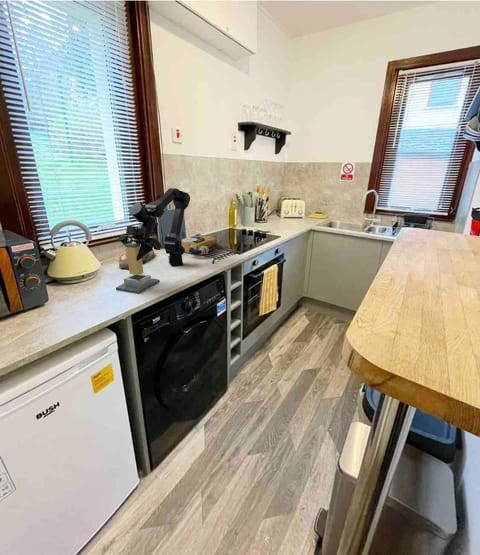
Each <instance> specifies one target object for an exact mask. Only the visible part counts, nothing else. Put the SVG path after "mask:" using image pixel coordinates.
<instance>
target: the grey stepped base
mask: <svg viewBox="0 0 480 555" xmlns="http://www.w3.org/2000/svg"><path fill="white" fill-rule="evenodd" d="M158 283H160V279H156V278H152V277H151V275H149V274H143V273H142V274H140V275H134V274H129V275H128V276H127V277H124V278H123V283H122V284H120V285H118V286H116V287H115V290H117V291H121V292H127V293H133V294H138V295H139V294H142V293H143V292H145V291H147V290H148V289H150V288H151V287H153V286H155V285H156V284H158Z"/></svg>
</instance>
